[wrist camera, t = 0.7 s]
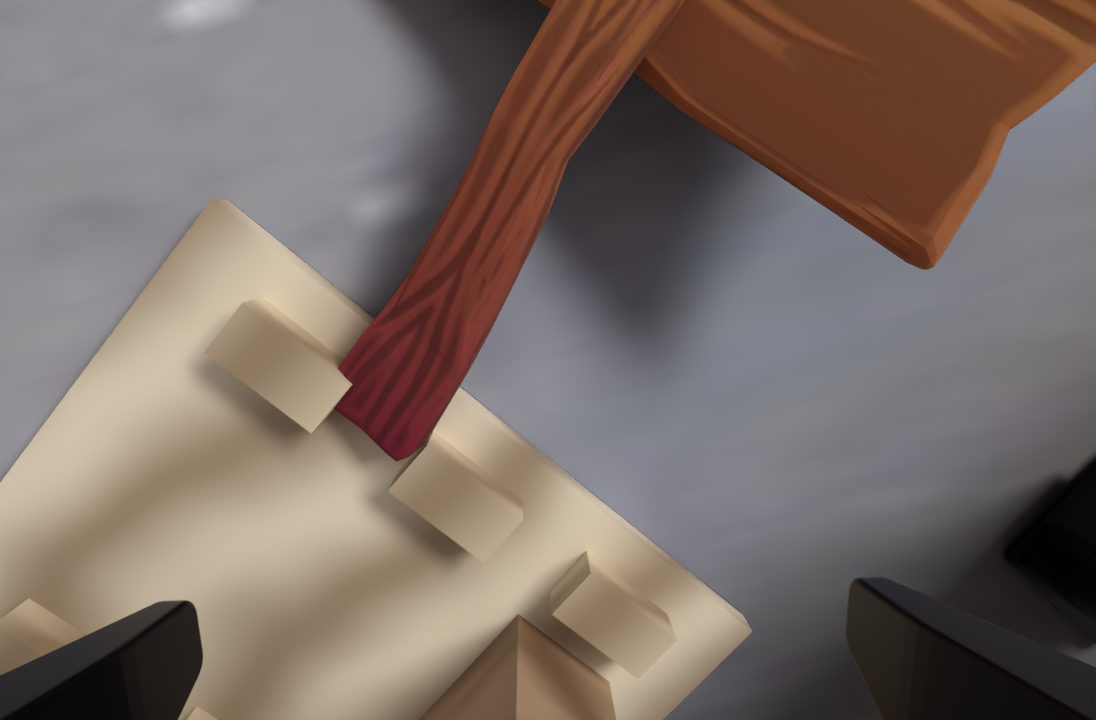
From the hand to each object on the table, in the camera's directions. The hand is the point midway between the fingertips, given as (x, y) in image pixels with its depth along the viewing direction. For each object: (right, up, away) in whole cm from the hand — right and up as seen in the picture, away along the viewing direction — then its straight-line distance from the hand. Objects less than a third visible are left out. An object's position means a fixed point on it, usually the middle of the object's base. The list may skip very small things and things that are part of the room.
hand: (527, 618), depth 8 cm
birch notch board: (-7, -6, +15) cm, 18 cm away
